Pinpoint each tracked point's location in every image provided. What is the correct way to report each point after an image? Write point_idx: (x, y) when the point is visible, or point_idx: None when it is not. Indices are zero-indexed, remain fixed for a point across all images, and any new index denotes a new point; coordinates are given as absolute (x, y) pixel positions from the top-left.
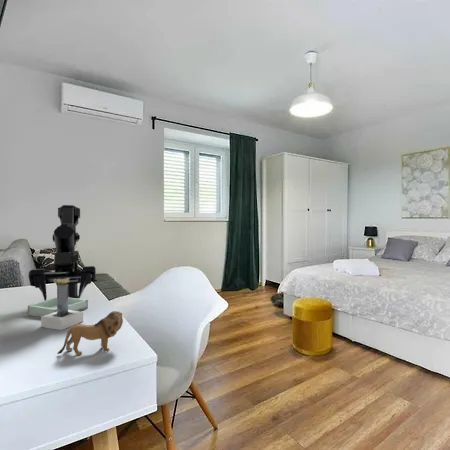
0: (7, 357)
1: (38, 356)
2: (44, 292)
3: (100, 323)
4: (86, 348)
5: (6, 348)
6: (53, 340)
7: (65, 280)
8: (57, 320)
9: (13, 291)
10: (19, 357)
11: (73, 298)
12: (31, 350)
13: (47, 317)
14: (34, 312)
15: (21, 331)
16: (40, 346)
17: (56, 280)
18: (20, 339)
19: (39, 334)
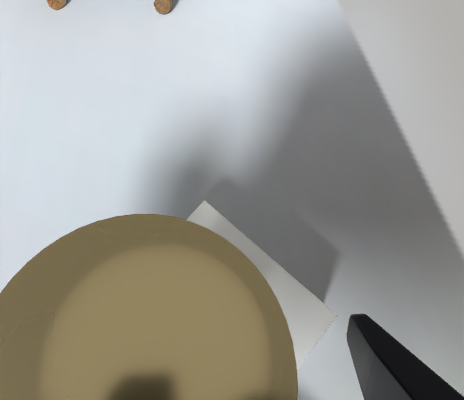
0: (340, 22)
1: (249, 2)
2: (407, 366)
3: None
4: (113, 10)
5: (375, 90)
6: (225, 108)
7: (80, 238)
8: (227, 220)
9: None
10: (304, 12)
11: None
12: (282, 48)
13: (292, 281)
14: None
15: (397, 270)
16: (261, 69)
17: (268, 292)
18: (359, 162)
19: (297, 195)
